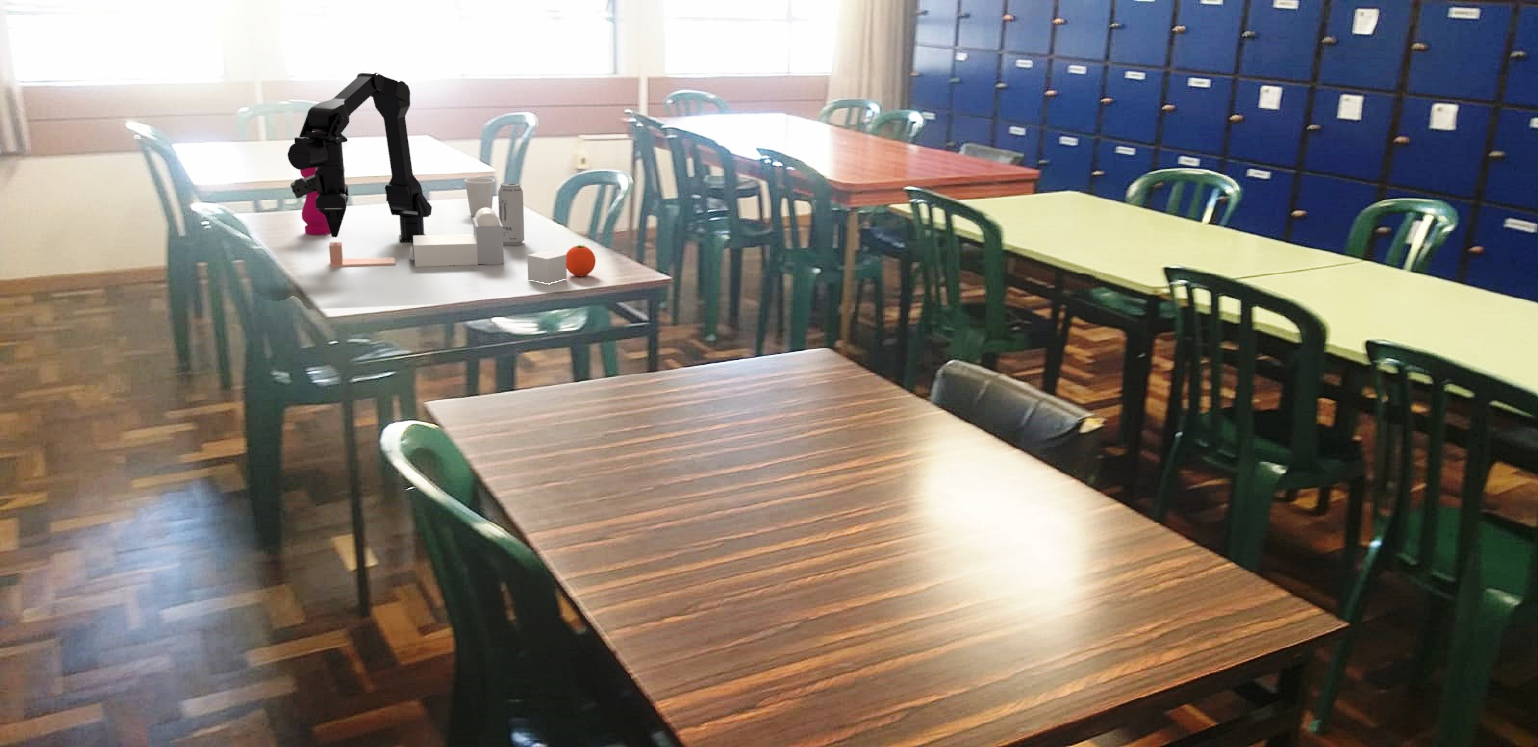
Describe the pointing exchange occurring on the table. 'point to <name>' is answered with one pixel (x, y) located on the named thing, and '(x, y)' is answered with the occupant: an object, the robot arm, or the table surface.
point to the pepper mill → (313, 211)
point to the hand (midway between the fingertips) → (335, 233)
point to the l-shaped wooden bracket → (338, 260)
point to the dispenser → (463, 244)
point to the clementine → (580, 260)
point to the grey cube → (547, 267)
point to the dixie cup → (479, 193)
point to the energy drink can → (511, 213)
